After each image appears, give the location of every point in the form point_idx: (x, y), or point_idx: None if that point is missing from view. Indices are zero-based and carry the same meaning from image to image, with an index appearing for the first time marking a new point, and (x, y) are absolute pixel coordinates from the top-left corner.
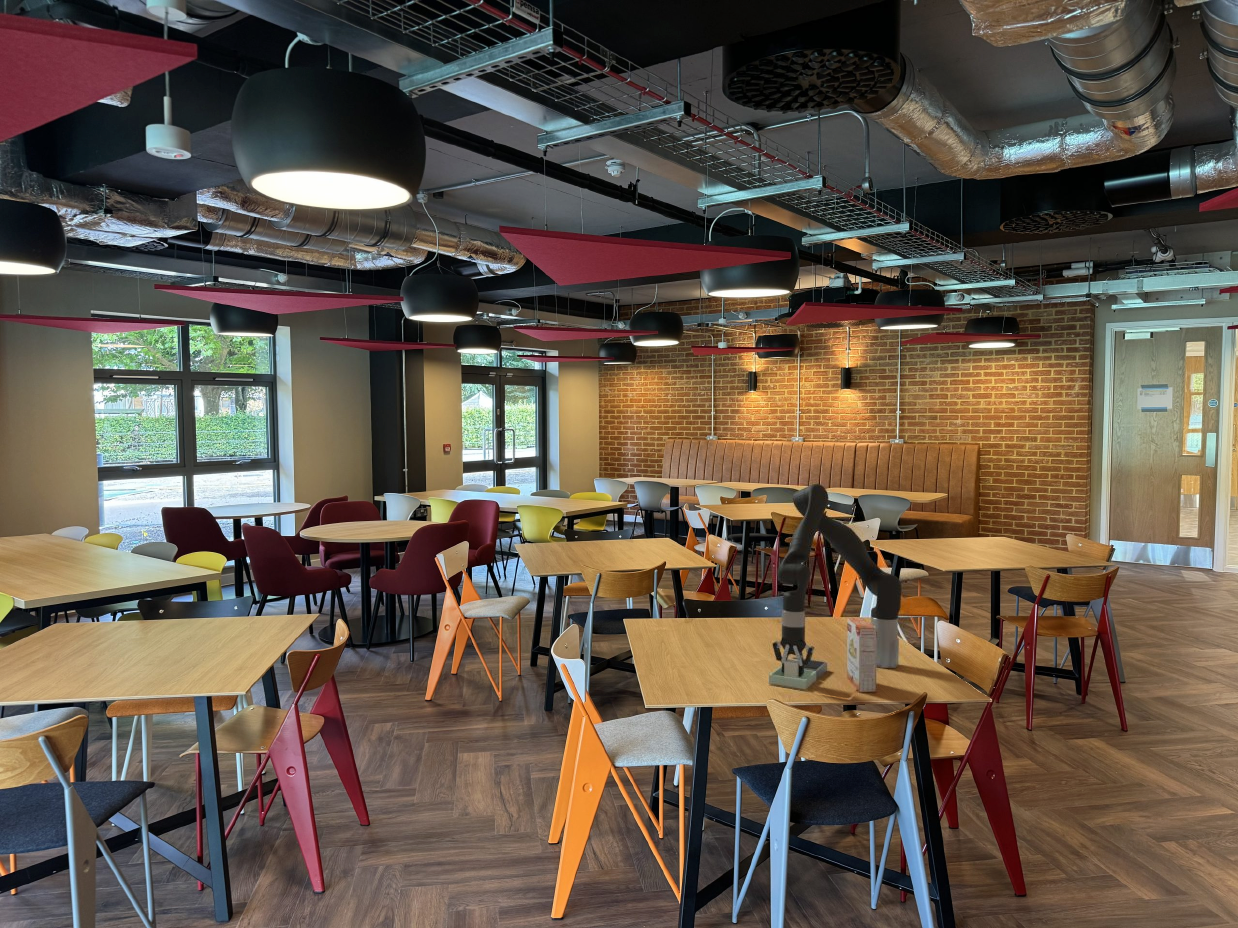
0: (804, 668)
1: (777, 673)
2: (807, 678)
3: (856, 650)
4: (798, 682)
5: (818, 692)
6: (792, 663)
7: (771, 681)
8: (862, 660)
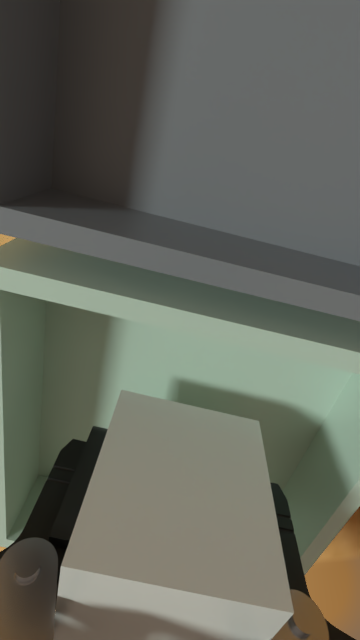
0: (311, 296)
1: (22, 400)
2: (303, 569)
3: None
4: None
5: (351, 521)
6: None
7: (37, 498)
8: None
